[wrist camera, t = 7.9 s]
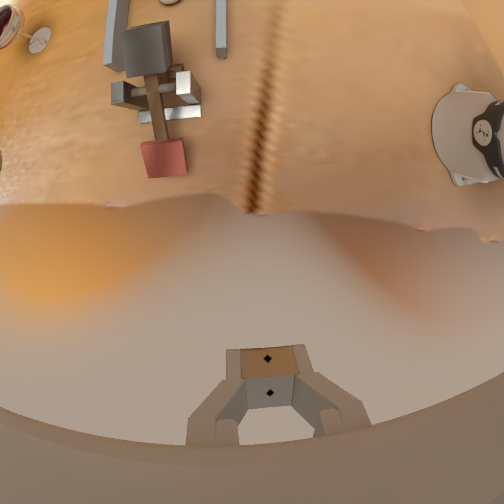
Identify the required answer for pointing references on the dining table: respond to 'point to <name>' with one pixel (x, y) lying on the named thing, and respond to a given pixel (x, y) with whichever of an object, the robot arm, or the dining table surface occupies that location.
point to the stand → (184, 89)
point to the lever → (155, 93)
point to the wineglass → (20, 29)
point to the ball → (168, 1)
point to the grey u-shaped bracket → (118, 24)
